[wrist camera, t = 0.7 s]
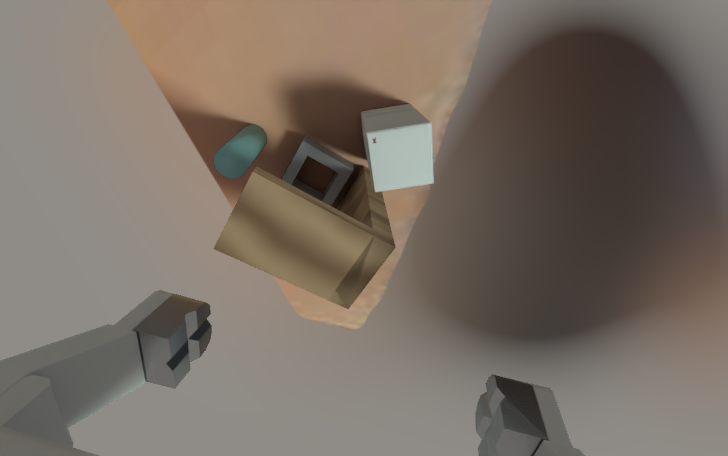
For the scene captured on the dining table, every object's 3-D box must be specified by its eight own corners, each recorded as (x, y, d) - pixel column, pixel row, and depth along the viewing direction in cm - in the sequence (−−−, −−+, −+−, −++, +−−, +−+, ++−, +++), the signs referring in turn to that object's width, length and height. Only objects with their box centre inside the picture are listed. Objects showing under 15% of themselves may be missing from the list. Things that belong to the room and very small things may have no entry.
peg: (247, 119, 49) (220, 141, 39) (271, 133, 50) (251, 158, 40) (237, 141, 51) (208, 168, 40) (260, 154, 52) (238, 184, 41)
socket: (305, 135, 51) (303, 140, 48) (353, 163, 53) (353, 170, 50) (280, 180, 54) (276, 188, 51) (326, 205, 56) (325, 213, 53)
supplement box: (366, 161, 53) (372, 194, 42) (359, 110, 50) (364, 130, 38) (415, 154, 53) (434, 185, 42) (412, 102, 49) (432, 121, 38)
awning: (287, 121, 50) (252, 171, 31) (377, 174, 54) (395, 247, 35) (260, 173, 53) (213, 248, 34) (346, 219, 57) (348, 309, 38)
